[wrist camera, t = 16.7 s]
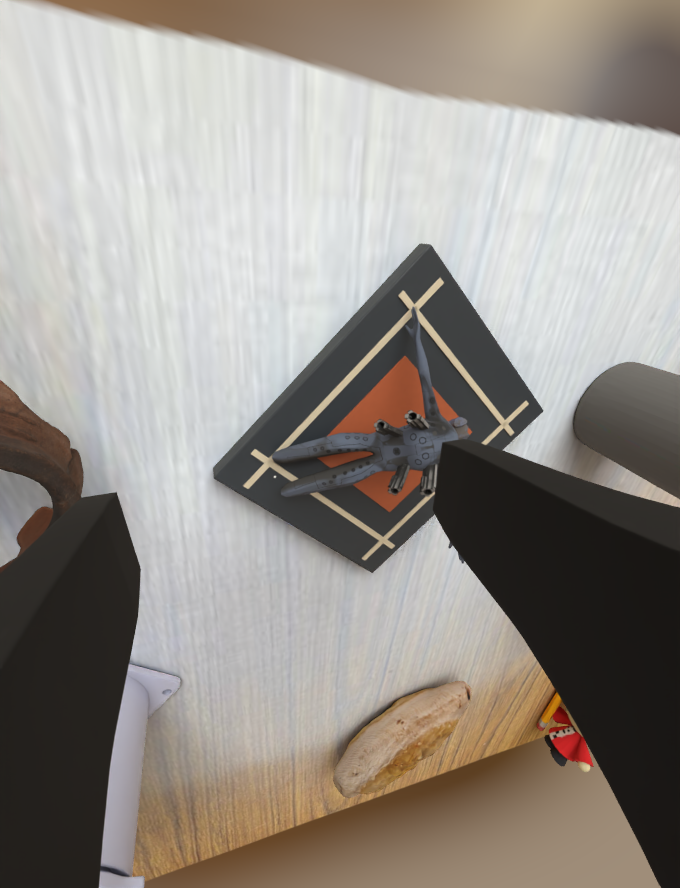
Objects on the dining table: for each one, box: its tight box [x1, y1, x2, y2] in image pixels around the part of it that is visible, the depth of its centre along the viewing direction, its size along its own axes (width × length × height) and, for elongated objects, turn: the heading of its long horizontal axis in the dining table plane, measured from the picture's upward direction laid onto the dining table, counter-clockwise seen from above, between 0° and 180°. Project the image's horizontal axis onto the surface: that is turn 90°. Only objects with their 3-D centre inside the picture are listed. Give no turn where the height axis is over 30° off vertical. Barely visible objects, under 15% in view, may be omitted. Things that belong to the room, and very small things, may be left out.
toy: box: [545, 706, 593, 772], centre depth 42 cm, size 7×7×15 cm
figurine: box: [272, 307, 470, 563], centre depth 19 cm, size 12×10×5 cm
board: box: [213, 244, 543, 573], centre depth 21 cm, size 14×12×1 cm
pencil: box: [537, 692, 562, 731], centre depth 43 cm, size 1×18×1 cm, turn 171°
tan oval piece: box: [333, 681, 472, 798], centre depth 34 cm, size 5×14×4 cm, turn 121°
